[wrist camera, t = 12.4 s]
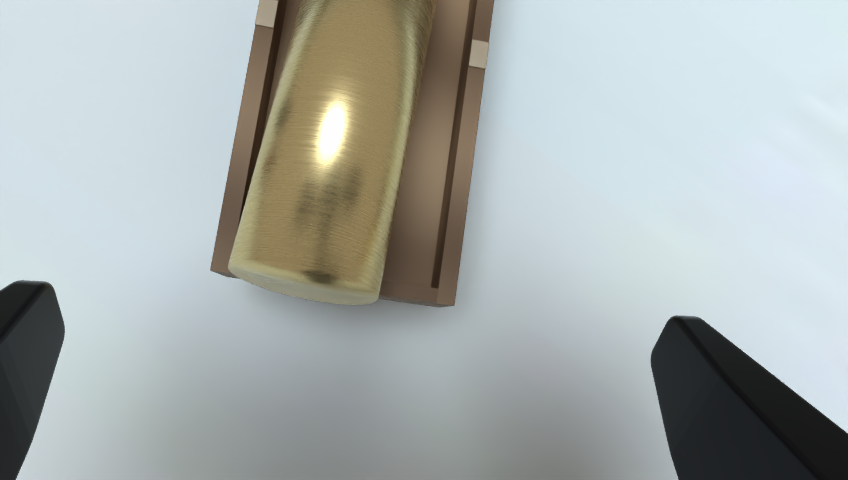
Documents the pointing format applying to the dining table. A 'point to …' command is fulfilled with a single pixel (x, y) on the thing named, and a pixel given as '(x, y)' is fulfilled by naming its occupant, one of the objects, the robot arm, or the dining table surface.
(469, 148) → the brown wooden tray
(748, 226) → the dining table surface
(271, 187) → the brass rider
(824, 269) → the dining table surface
